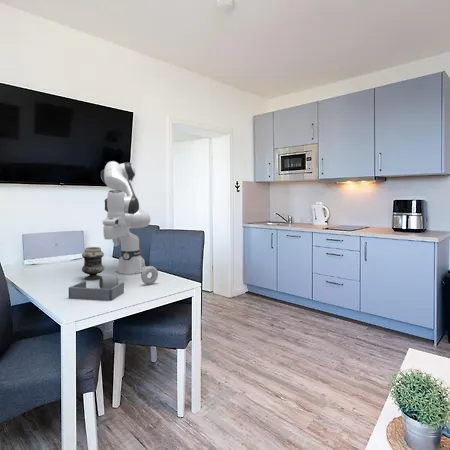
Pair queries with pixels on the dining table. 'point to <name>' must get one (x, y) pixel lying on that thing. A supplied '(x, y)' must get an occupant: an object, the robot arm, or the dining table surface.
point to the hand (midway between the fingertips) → (116, 246)
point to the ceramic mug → (108, 281)
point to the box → (95, 292)
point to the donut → (145, 273)
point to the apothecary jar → (92, 262)
